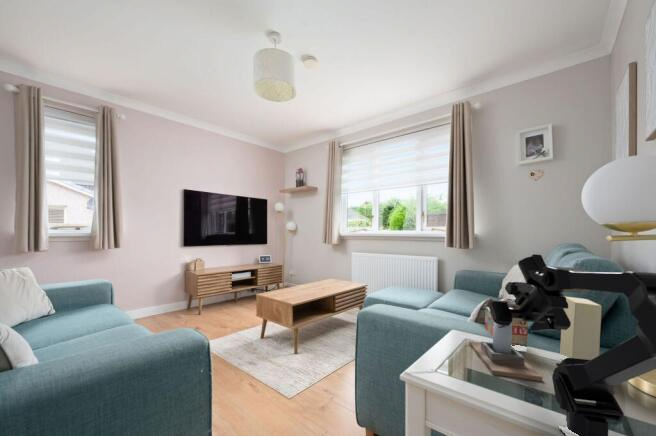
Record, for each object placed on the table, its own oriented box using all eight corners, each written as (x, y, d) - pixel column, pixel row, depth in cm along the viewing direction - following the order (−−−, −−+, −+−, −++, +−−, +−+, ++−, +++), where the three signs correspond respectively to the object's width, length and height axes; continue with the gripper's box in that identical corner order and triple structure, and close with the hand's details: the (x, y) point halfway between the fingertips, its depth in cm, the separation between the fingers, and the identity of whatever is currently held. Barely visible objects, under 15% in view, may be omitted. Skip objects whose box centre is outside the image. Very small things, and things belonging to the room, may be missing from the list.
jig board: (542, 381, 77) (542, 368, 77) (492, 374, 79) (492, 361, 79) (508, 349, 96) (508, 338, 96) (469, 344, 99) (469, 334, 99)
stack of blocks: (484, 328, 117) (485, 299, 117) (500, 330, 115) (501, 301, 116) (507, 351, 96) (509, 316, 96) (527, 353, 94) (528, 318, 95)
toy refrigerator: (602, 376, 81) (604, 305, 82) (571, 370, 84) (574, 302, 84) (586, 363, 89) (589, 299, 89) (559, 358, 91) (561, 296, 92)
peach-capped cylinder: (511, 362, 84) (512, 320, 84) (492, 357, 87) (493, 316, 87) (510, 356, 88) (511, 316, 89) (492, 351, 91) (493, 312, 91)
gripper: (564, 277, 75) (537, 305, 86) (492, 272, 77) (474, 300, 88) (587, 315, 67) (554, 341, 78) (506, 308, 69) (484, 334, 80)
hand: (514, 327), depth 81 cm, fingers open, 9 cm apart
